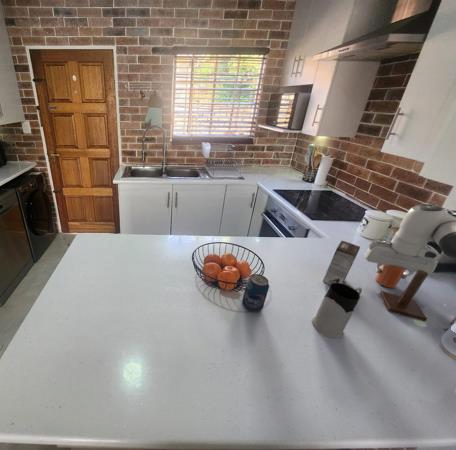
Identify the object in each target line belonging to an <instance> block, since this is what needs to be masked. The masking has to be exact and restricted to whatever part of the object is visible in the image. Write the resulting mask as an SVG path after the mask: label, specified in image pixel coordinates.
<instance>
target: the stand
mask: <svg viewBox="0 0 456 450" xmlns="http://www.w3.org/2000/svg"><path fill="white" fill-rule="evenodd" d="M428 276H429V274H428V273H427V272H425V271H422V270H418V271H417V272H415V273H414V275H413V277H412V279H411V280H410V282H409V283H408V285H407V287H406V288H405V289H404V291H403V293H402V295H399V294H396V293H391V292H387V291H384V290H381V291H380V292H379V296H380V298H381V300H382V302H383V304H384V306H385V307H386V309H387V311H388V312H390V313H393V314H398V315H401V316H403V317H408V318H411V319H415V320H419V321H423V322H426V321H427V320H428V317H427V315H426V314H425V312H424V311H423V309H422V308H421V307H420V305H419V303H418V302H417V300H416V299H415V298H414V297H415V296H416V294H417V293H418V291H419V289H420V288H421V286H422V285H423V284H424V282H425V280H426V279H427V278H428Z"/></svg>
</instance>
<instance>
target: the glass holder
mask: <svg viewBox="0 0 456 450" xmlns="http://www.w3.org/2000/svg"><path fill="white" fill-rule="evenodd" d="M362 292H363V288H361V287H360V286H359V287H356V288H353V287H351V286H350V285H347V284H345V283H343V284H341V283H332V284H331V285H329V287H328V289H327V291H326V294H325V295H324V297H323V298H322V301H321V303H320V305H319V307H318V310H317V312H316V314H315V316H314V317H313V318H312V319H311V324H312V326H313V328H315V330H316V331H317V332H318V333H320V334H322V335H323V336H326V337H328V338H331V339H341V338H342V337H343V336H344V330H345V328H346V327H347V325H348V323H349V321H350V320H351V318H352V315H353V313H354V312H355V308H356V306H357V304H358V303H359V301H360V299H361V295H362Z"/></svg>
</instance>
